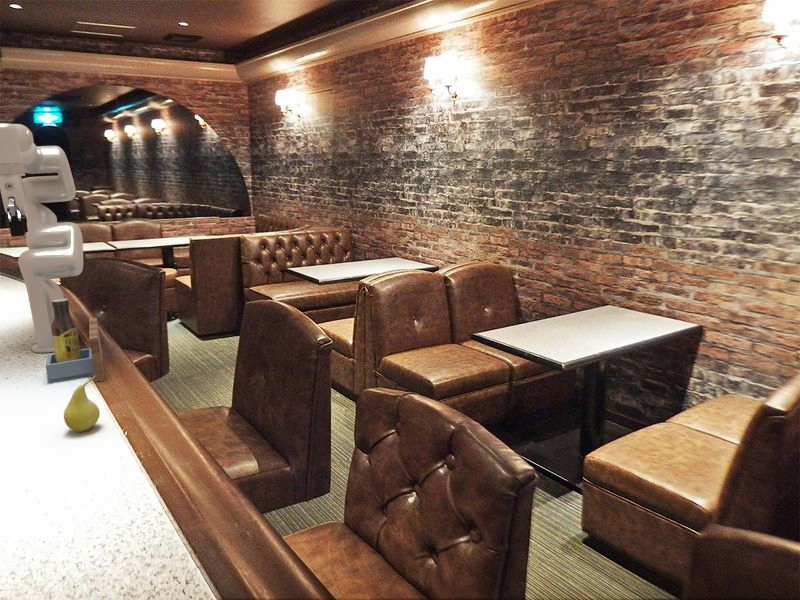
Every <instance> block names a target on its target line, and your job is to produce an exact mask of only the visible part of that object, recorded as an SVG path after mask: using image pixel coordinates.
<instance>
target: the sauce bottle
mask: <svg viewBox="0 0 800 600" xmlns="http://www.w3.org/2000/svg"><path fill="white" fill-rule="evenodd" d="M69 304H70V302H69V299H68V298H64V299H57V300H53V301H52V306H53V308H54V316H55V319H54V321H53V323H52V337H53V344H54V350H55V352H54V354H55V357H56V363H60V362H66V361H72V360H78V359H81V352H80V350H81V345H80V340H79V332H78V331H79V330H78V326H77V325H76V323H75V322H74V320H73V318H72V316H71V312H70V308H69V307H70V306H69Z"/></svg>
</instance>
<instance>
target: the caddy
mask: <svg viewBox="0 0 800 600" xmlns="http://www.w3.org/2000/svg"><path fill="white" fill-rule="evenodd" d="M80 352H81V359H78V360H72V361H66V362H60V363H56V357H55V353H50V354H47V356H46V361H45V370H46V376H47V381H48V384H54V382H55V383H60V382H65V381H66V382H67V381H72V380H77V379H82V378H83V379H85V378H89V377H93V375H95V370H94V364H93V358H92V352H91V347H89V348H82V349H81V348H80Z"/></svg>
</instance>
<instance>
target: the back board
mask: <svg viewBox="0 0 800 600" xmlns="http://www.w3.org/2000/svg"><path fill="white" fill-rule="evenodd" d="M88 324H89V325H88V326H89V327H88V332H89V333H88V335H89V337H88V338H89V344H90V348H91V352H92V358H93V364H94V370H95V375H96V378H95V381H96V383H98V382H97V381H101V380H105V379H104V378H105V368H104V367H105V366H103V365H104V357H103V350H102V344H101V338H100V337H101V335H100V331H99V324H98V319H97V317H94V318H89V319H88ZM105 381H106V380H105ZM101 382H102V381H101Z"/></svg>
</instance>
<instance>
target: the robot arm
mask: <svg viewBox="0 0 800 600" xmlns="http://www.w3.org/2000/svg"><path fill="white" fill-rule="evenodd" d="M54 173H55V174H58V175H46V176H45V175H43V176H30V177H25V176H26V174H32V175H36V174H54ZM22 176H24V178H22ZM0 194H1V198H2V199H1V200H2V205H3V208H4V211H5V213H6V214H7V215H8V225H9V226H8V227H9V231H10V236H11V237H23V236H25V242H26V247H27V249H28V250H25V251H24V252H22V253H21V254H20V255H19V256H18V268H19V269H20V273H21V276H22V278H23V280H24V284H25V288H26V291H27V296H28V297H27V298H28V301H29V307H30V311H31V312H30V314H31V317H32V322H33V323H32V324H33V329H34V335H35V340H36V343H35V344H34V345H32V347H31V349H32V350H31V351H32V352H34V353H40V354H43V353H52V352H53V353H55V350H54V344H53V337H52V323H53V321H54V319H55V316H54V308H53V306H52V301H53V300H57V299H65V297H64V292H63V290H62V288H61V287H60V286H59V285H58V284H57V283H56V282H55V281H53V280H52V279H57V278H58V279H60V278H70V277H76V276H79V275H81V274H82V272H83V269H84V240H83V234H82V231H81V228H80V227H79V225H78V224H77V223H75V222H70V221H66V222H65V221H64V222H58V218H57V215H56V214H55V212H53V211H52V210H51V209H50V208H48V207H47V206H45V205H43V204H45V203H58V202H59V203H60V202H68V201H72V200H73V199H74V198H75V196H76V186H75V182H74V178H73V175H72V170H71V167H70V163H69V160H68V158H67V155H66V152H65V151H64V149H63V148H61V147H60V146H58V145H41V146H37V145H36V144H35V143H34V135H33V133H32V131H31V130H30V129H29V128H28V127H27V126H26V125H23V124H21V123H6V122H4V123H3V122H1V123H0ZM42 203H43V204H42Z"/></svg>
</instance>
